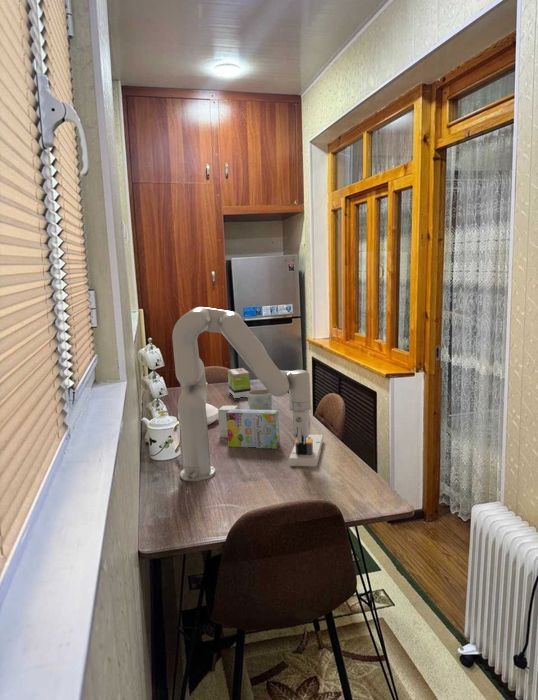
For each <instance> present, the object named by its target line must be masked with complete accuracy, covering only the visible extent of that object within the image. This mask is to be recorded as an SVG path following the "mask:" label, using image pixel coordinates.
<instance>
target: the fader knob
mask: <svg viewBox="0 0 538 700" xmlns="http://www.w3.org/2000/svg"><path fill="white" fill-rule="evenodd" d="M305 443H307V454H312V453H313V439H306V442H305ZM295 444H296V454H298V449H297V438H295V442H294V445H295Z"/></svg>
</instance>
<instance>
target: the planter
mask: <svg viewBox="0 0 538 700" xmlns="http://www.w3.org/2000/svg"><path fill="white" fill-rule="evenodd" d="M247 400H248V408H249V409H248V410H273V395H272V394H271V393H270V392H269V391H268V390H267V389H266V388H258V389H257V388H256V389H251V391H249V392H248V397H247Z"/></svg>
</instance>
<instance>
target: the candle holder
mask: <svg viewBox="0 0 538 700" xmlns="http://www.w3.org/2000/svg"><path fill="white" fill-rule="evenodd" d="M206 385H208V382H207V381H206ZM218 410H219V408H217V407H215V405H212V404H209V403H207V402H206V416H207V426H208V425H211V424H212V423H214V422H215V421H216V420H217V419H219V416H218ZM177 417H178V421H179V422H180V420H179V414H177Z"/></svg>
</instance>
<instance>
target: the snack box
mask: <svg viewBox="0 0 538 700" xmlns="http://www.w3.org/2000/svg"><path fill="white" fill-rule="evenodd" d="M226 418H227V433H228V437H227V443H228V444H227V446H228V448H230V447H231V448H248V447H256V448H255V449H270V448H272V450H274V449H276V450H277V449H278V448H279V446H280V445H281V442H280V439H281V438H280V420H279V410H278V409H272V410H250V409H247V408H245V409H239V408H238V409H230V410H229V411H228V412H226Z"/></svg>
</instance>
